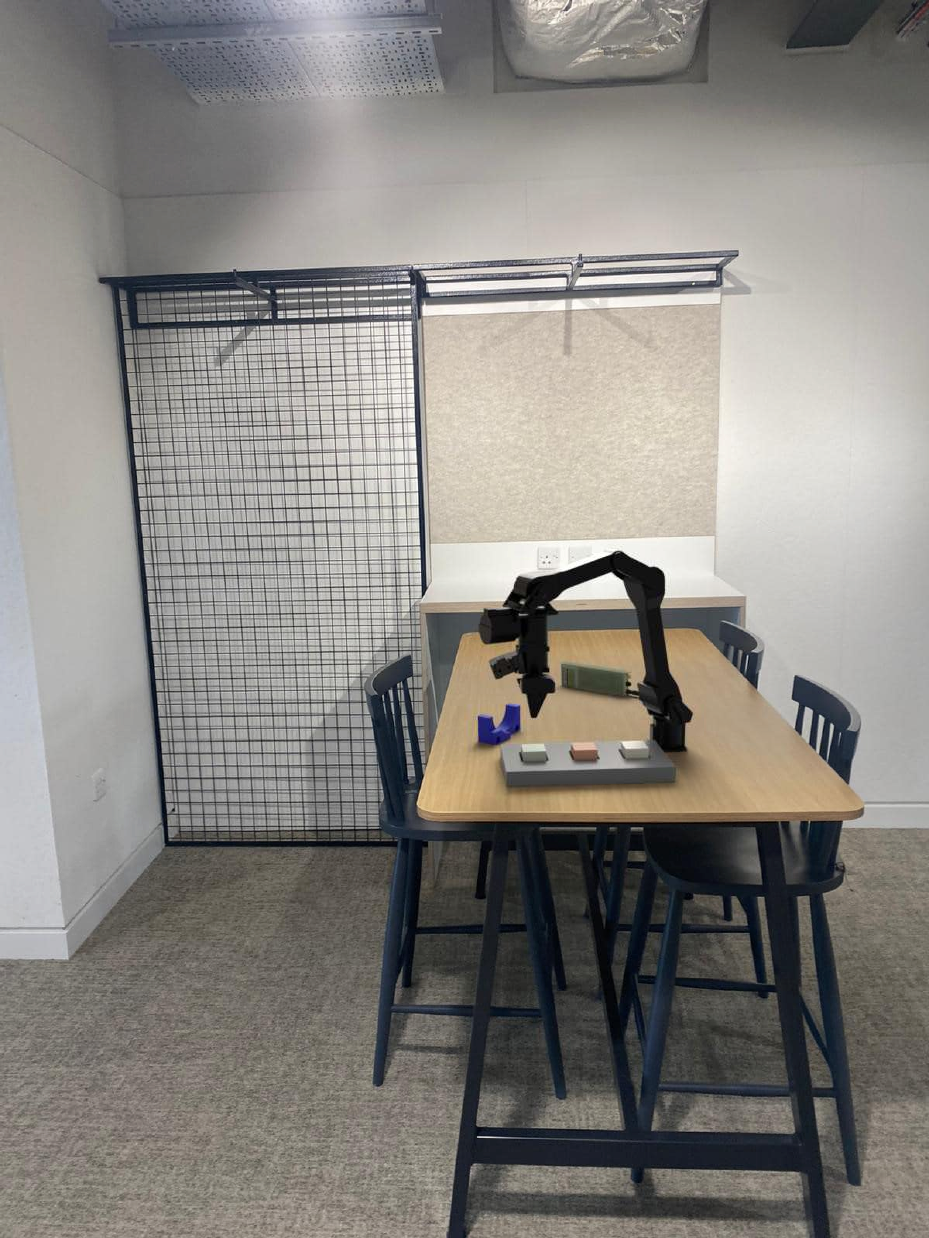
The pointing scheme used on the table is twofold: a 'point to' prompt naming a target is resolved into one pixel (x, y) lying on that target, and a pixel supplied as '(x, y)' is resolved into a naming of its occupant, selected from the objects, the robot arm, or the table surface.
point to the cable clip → (505, 728)
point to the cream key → (634, 749)
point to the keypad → (585, 766)
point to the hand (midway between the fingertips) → (533, 717)
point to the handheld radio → (596, 678)
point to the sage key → (533, 752)
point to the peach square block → (584, 751)
